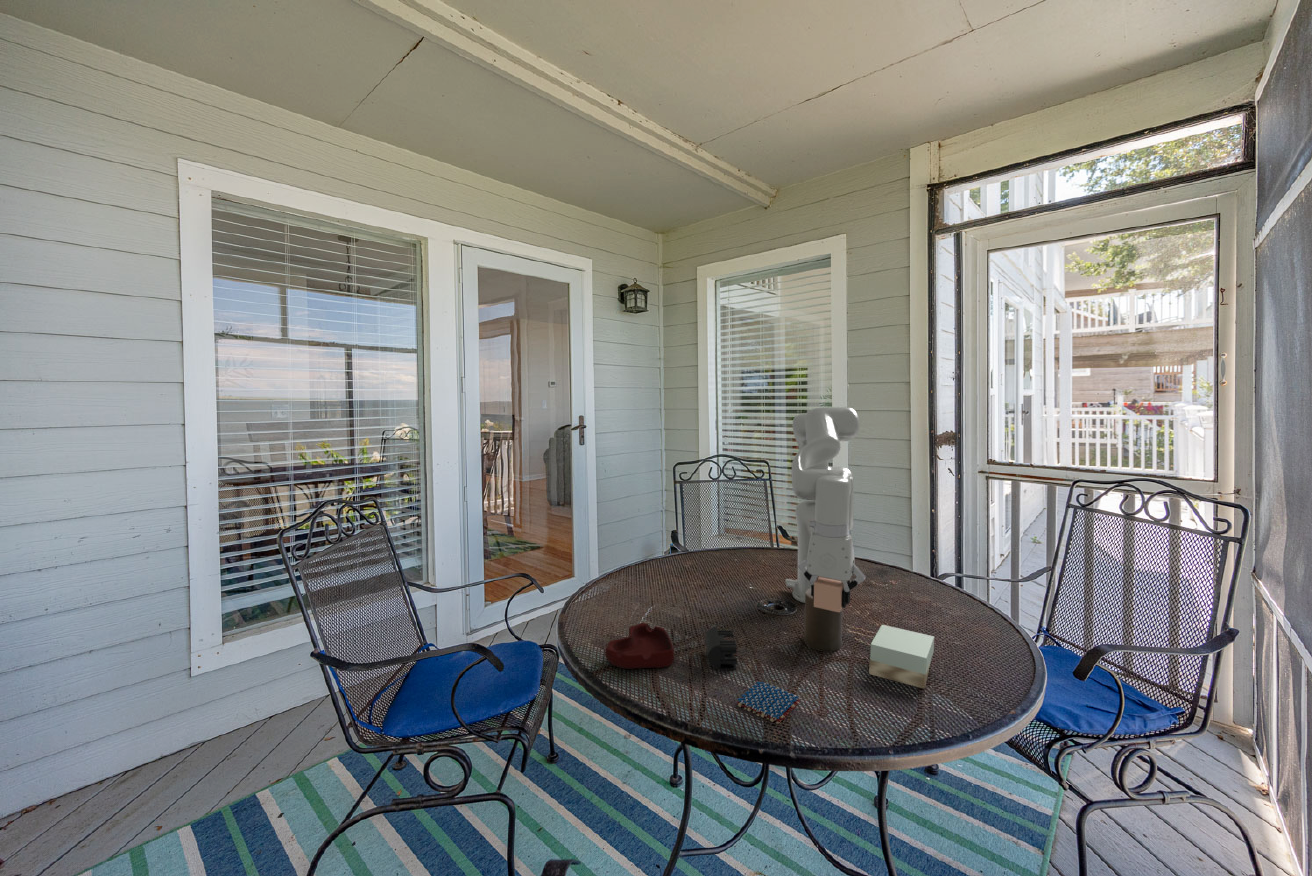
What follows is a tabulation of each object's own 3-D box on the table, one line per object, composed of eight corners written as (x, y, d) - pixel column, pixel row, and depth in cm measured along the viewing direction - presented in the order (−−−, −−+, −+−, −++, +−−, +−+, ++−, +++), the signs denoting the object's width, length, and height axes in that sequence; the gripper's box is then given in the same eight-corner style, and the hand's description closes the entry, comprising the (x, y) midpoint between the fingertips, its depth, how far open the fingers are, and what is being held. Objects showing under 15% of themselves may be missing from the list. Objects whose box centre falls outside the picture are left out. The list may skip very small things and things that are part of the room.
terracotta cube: (813, 606, 127) (814, 582, 126) (821, 597, 132) (821, 573, 131) (839, 612, 123) (840, 587, 123) (846, 602, 128) (846, 578, 128)
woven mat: (779, 728, 111) (779, 719, 110) (735, 708, 118) (735, 699, 117) (802, 704, 118) (802, 695, 118) (759, 686, 125) (759, 678, 125)
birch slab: (869, 676, 129) (869, 660, 128) (878, 653, 139) (879, 639, 138) (924, 690, 122) (925, 674, 122) (930, 666, 132) (931, 651, 132)
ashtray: (654, 685, 126) (654, 665, 126) (599, 667, 135) (598, 648, 134) (690, 651, 141) (690, 633, 141) (638, 637, 150) (638, 619, 149)
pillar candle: (822, 655, 138) (824, 599, 136) (796, 639, 146) (797, 586, 144) (849, 646, 142) (851, 592, 140) (822, 631, 151) (824, 579, 149)
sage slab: (870, 660, 129) (870, 644, 128) (881, 639, 138) (882, 624, 138) (925, 674, 122) (926, 658, 121) (933, 652, 132) (934, 636, 131)
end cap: (705, 650, 141) (704, 626, 140) (732, 650, 141) (732, 626, 140) (708, 671, 131) (707, 645, 131) (737, 671, 131) (737, 645, 130)
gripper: (790, 527, 127) (789, 600, 129) (867, 539, 117) (864, 617, 120) (800, 519, 133) (799, 589, 135) (874, 530, 123) (872, 604, 126)
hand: (830, 601), depth 127 cm, fingers closed on terracotta cube, 6 cm apart
